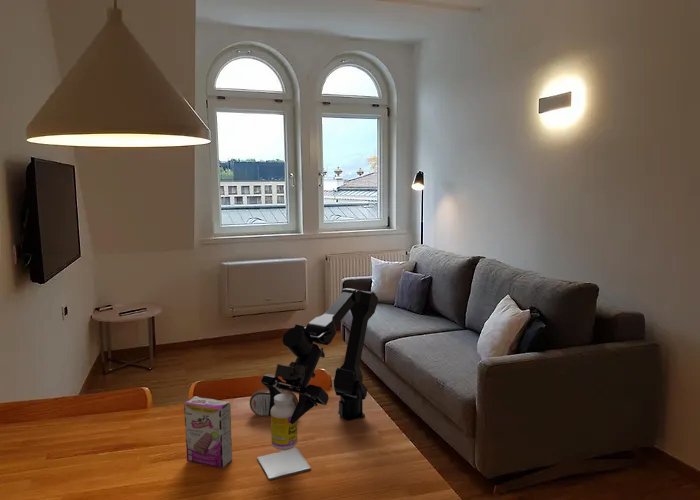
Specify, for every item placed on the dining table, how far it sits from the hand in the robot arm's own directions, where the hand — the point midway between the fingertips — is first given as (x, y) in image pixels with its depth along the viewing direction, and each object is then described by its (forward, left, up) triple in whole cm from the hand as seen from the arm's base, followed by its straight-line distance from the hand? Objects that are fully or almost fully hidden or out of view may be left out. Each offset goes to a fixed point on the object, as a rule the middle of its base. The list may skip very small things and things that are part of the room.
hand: (280, 420), depth 134 cm
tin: (-7, -29, -13) cm, 32 cm away
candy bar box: (+16, -11, -13) cm, 24 cm away
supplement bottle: (-1, -1, -7) cm, 8 cm away
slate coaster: (-1, -1, -13) cm, 13 cm away
